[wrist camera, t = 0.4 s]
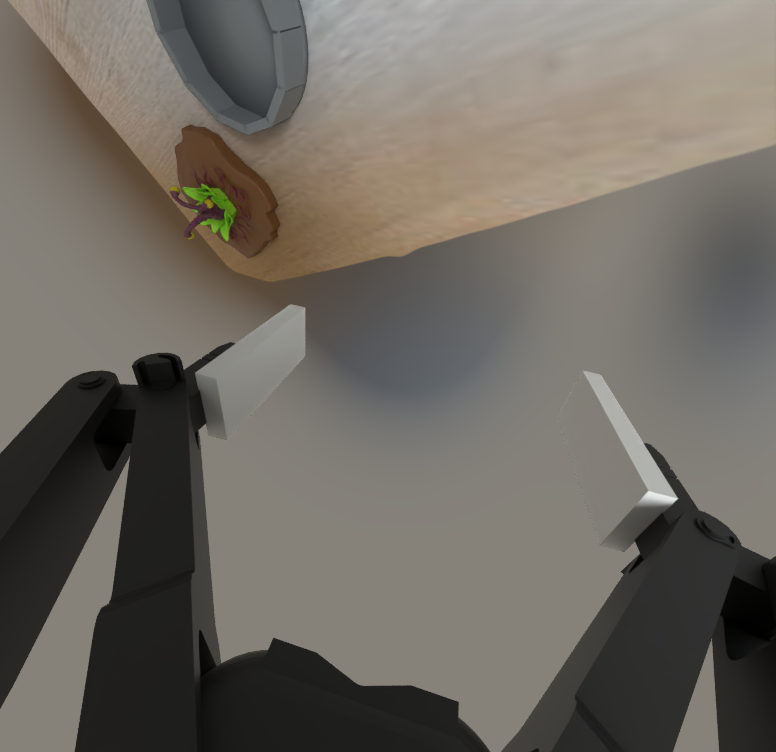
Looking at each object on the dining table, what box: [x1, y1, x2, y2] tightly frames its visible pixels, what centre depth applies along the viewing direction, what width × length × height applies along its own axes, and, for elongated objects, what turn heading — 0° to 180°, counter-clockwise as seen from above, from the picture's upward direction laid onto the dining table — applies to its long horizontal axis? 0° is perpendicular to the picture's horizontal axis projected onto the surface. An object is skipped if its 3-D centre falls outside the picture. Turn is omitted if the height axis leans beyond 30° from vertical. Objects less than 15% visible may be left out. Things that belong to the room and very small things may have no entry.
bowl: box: [147, 0, 308, 135], centre depth 37 cm, size 18×18×4 cm
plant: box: [170, 125, 280, 258], centre depth 57 cm, size 20×20×11 cm
